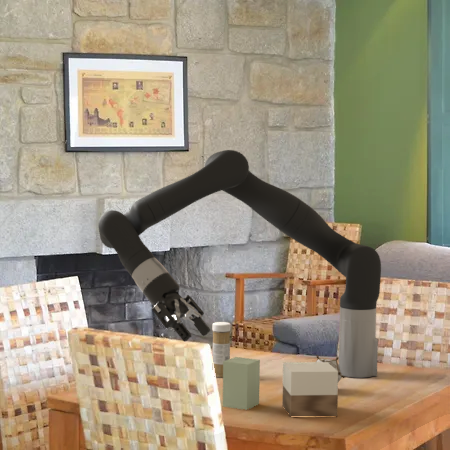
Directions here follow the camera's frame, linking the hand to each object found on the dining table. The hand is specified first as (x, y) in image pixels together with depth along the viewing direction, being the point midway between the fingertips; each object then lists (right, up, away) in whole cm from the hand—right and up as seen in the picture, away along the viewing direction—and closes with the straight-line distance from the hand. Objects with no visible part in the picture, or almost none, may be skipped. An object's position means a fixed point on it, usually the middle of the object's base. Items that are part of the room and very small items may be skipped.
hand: (197, 336), depth 217 cm
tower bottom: (+24, -16, -9) cm, 30 cm away
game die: (+30, -14, +11) cm, 35 cm away
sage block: (+10, -15, -4) cm, 18 cm away
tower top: (+24, -11, -9) cm, 28 cm away
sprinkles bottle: (+5, -13, +25) cm, 29 cm away
